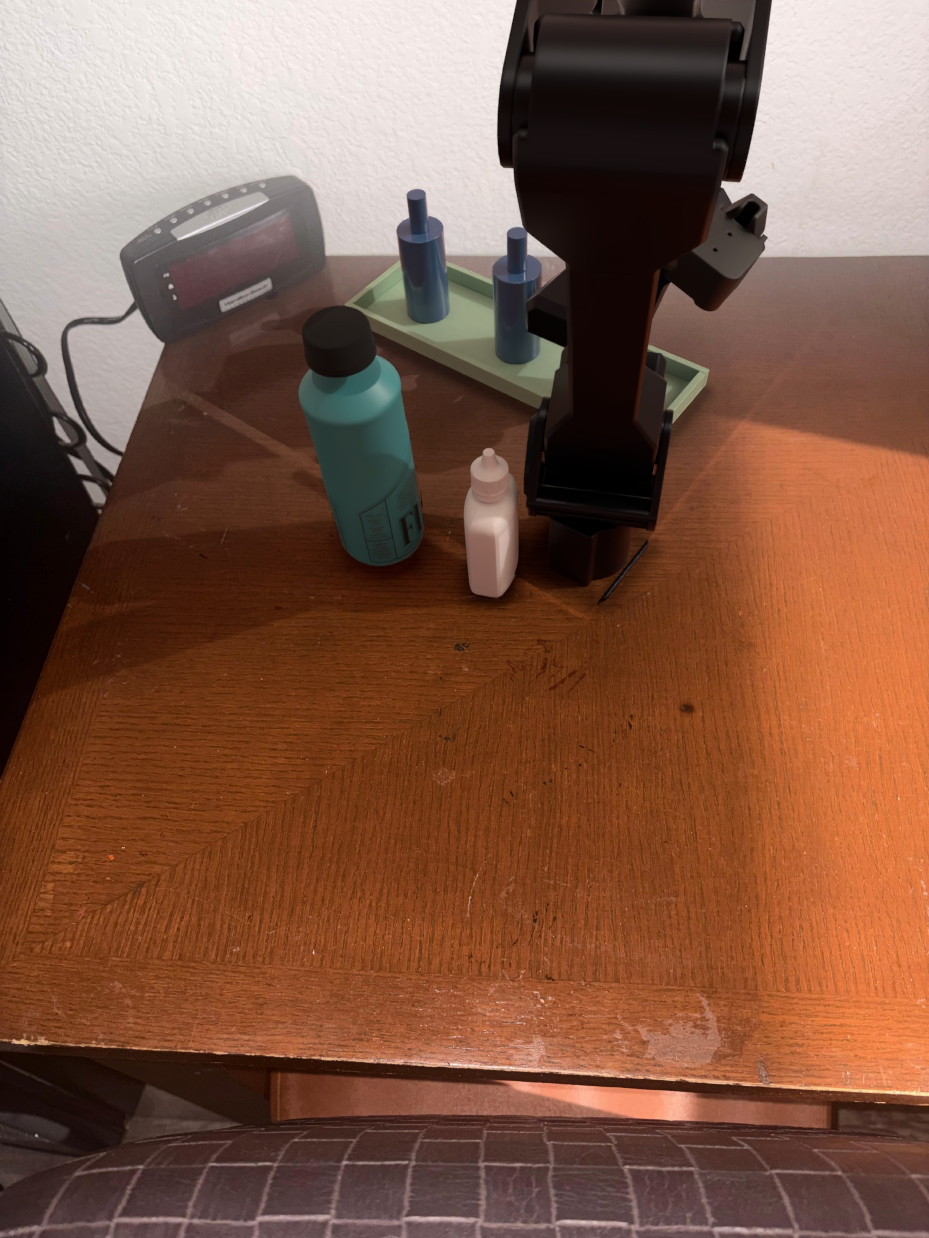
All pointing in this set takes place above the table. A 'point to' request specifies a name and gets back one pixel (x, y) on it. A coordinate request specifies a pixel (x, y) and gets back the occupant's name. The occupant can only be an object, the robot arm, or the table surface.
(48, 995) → the table surface
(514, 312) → the blue bottle middle
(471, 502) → the eye dropper bottle
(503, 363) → the tray
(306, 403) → the beverage bottle
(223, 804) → the table surface
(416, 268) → the blue bottle back
